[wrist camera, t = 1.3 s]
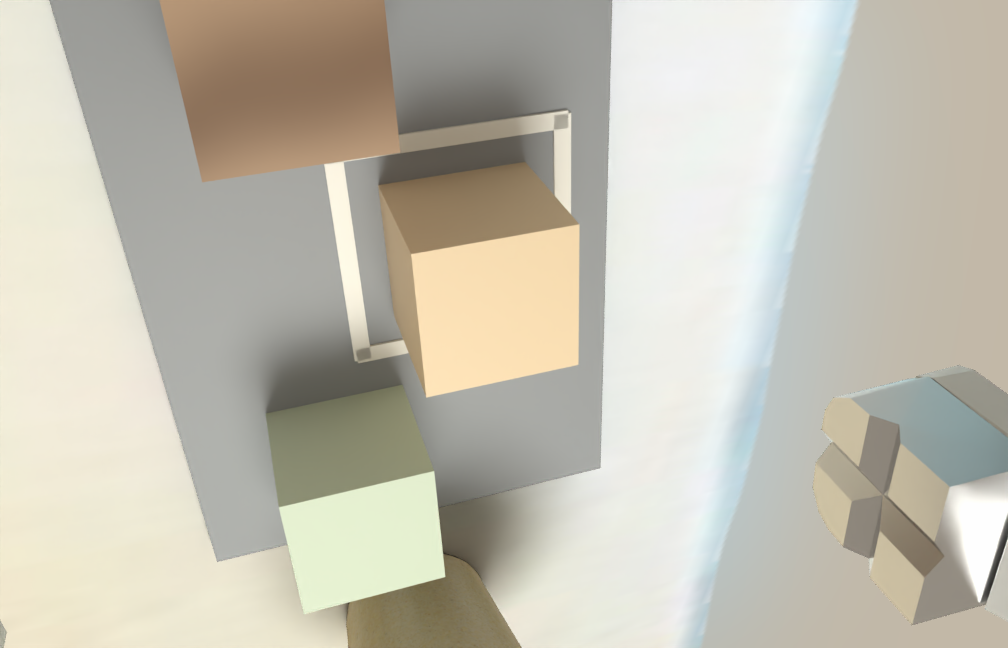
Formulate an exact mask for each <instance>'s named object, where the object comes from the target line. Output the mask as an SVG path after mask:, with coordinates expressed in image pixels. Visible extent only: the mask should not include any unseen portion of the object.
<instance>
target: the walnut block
mask: <svg viewBox="0 0 1008 648" xmlns="http://www.w3.org/2000/svg"><path fill="white" fill-rule="evenodd" d="M159 1H160V5H161V9H162V13H163V18H164V22H165V26H166V30H167V35H168V39H169V43H170V47H171V52H172V56H173V60H174V64H175V69H176V73H177V77H178V81H179V86H180V90H181V94H182V98H183V103H184V107H185V111H186V115H187V120H188V124H189V128H190V132H191V137H192V141H193V145H194V149H195V154H196V158H197V162H198V166H199V171H200V175H201V179H202V182H208V181H215V180H221V179H228V178H235V177H241V176H248V175H255V174H261V173H268V172H274V171H281V170H288V169H294V168H301V167H308V166H314V165H321V164H327V163H334V162H341V161H347V160H354V159H361V158H367V157H374V156H381V155H387V154H394V153H400V144H399V134H398V125H397V115H396V106H395V97H394V87H393V78H392V68H391V59H390V49H389V40H388V31H387V21H386V12H385V2H384V0H159Z"/></svg>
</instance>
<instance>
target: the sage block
mask: <svg viewBox="0 0 1008 648" xmlns="http://www.w3.org/2000/svg"><path fill="white" fill-rule="evenodd" d="M266 421H267V428H268V435H269V442H270V449H271V456H272V463H273V470H274V477H275V484H276V491H277V498H278V505H279V510H280V515H281V519H282V523H283V527H284V532H285V536H286V540H287V544H288V549H289V553H290V557H291V561H292V566H293V570H294V574H295V578H296V583H297V587H298V591H299V595H300V599H301V604H302V608H303V612H304V614H307V613H310V612H314V611H318V610H322V609H326V608H329V607H333V606H337V605H341V604H345V603H348V602H352V601H356V600H360V599H364V598H367V597H371V596H375V595H379V594H383V593H386V592H390V591H394V590H398V589H402V588H405V587H409V586H413V585H417V584H421V583H424V582H428V581H432V580H436V579H440V578H443V577H445V568H444V559H443V549H442V540H441V531H440V521H439V512H438V502H437V493H436V483H435V474H434V469H433V466H432V464H431V461H430V458H429V455H428V453H427V450H426V447H425V445H424V442H423V439H422V436H421V434H420V431H419V428H418V426H417V423H416V420H415V417H414V415H413V412H412V409H411V406H410V404H409V401H408V398H407V396H406V393H405V390H404V387H403V385H399V386H394V387H390V388H385V389H380V390H375V391H371V392H366V393H361V394H356V395H352V396H347V397H342V398H337V399H333V400H328V401H323V402H318V403H314V404H309V405H304V406H299V407H295V408H290V409H285V410H280V411H276V412H271V413H266Z"/></svg>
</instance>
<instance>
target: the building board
mask: <svg viewBox="0 0 1008 648" xmlns="http://www.w3.org/2000/svg"><path fill="white" fill-rule="evenodd" d="M49 1H50V4H51V7H52V11H53V14H54V17H55V21H56V24H57V27H58V31H59V34H60V37H61V41H62V44H63V47H64V51H65V54H66V58H67V61H68V64H69V68H70V71H71V74H72V78H73V81H74V84H75V88H76V91H77V94H78V98H79V101H80V104H81V108H82V111H83V114H84V118H85V121H86V124H87V128H88V131H89V134H90V138H91V141H92V145H93V148H94V151H95V155H96V158H97V161H98V165H99V168H100V171H101V175H102V178H103V181H104V185H105V188H106V191H107V195H108V198H109V201H110V205H111V208H112V211H113V215H114V218H115V222H116V225H117V228H118V232H119V235H120V238H121V242H122V245H123V248H124V252H125V255H126V258H127V262H128V265H129V268H130V272H131V275H132V278H133V282H134V285H135V288H136V292H137V295H138V298H139V302H140V305H141V309H142V312H143V315H144V319H145V322H146V325H147V329H148V332H149V335H150V339H151V342H152V345H153V349H154V352H155V355H156V359H157V362H158V365H159V369H160V372H161V375H162V379H163V382H164V385H165V389H166V392H167V396H168V399H169V402H170V406H171V409H172V412H173V416H174V419H175V422H176V426H177V429H178V432H179V436H180V439H181V442H182V446H183V449H184V452H185V456H186V459H187V462H188V466H189V469H190V473H191V476H192V479H193V483H194V486H195V489H196V493H197V496H198V499H199V503H200V506H201V509H202V513H203V516H204V519H205V523H206V526H207V529H208V533H209V536H210V539H211V543H212V546H213V549H214V553H215V556H216V560H217V562H219V561H223V560H227V559H231V558H235V557H239V556H243V555H247V554H251V553H256V552H260V551H264V550H268V549H272V548H276V547H280V546H284V545H288V544H287V540H286V536H285V532H284V527H283V523H282V519H281V515H280V510H279V505H278V498H277V491H276V484H275V477H274V470H273V463H272V456H271V449H270V442H269V435H268V428H267V421H266V413H271V412H276V411H280V410H285V409H290V408H295V407H299V406H304V405H309V404H314V403H318V402H323V401H328V400H333V399H337V398H342V397H347V396H352V395H356V394H361V393H366V392H371V391H375V390H380V389H385V388H390V387H394V386H399V385H403V387H404V390H405V393H406V396H407V398H408V401H409V404H410V406H411V409H412V412H413V415H414V417H415V420H416V423H417V426H418V428H419V431H420V434H421V436H422V439H423V442H424V445H425V447H426V450H427V453H428V455H429V458H430V461H431V464H432V466H433V469H434V474H435V483H436V493H437V502H438V508H439V507H444V506H448V505H452V504H456V503H460V502H464V501H468V500H472V499H476V498H480V497H484V496H489V495H493V494H497V493H501V492H505V491H509V490H513V489H517V488H521V487H525V486H529V485H533V484H538V483H542V482H546V481H550V480H554V479H558V478H562V477H566V476H570V475H574V474H578V473H583V472H587V471H591V470H595V469H599V468H600V462H601V422H602V382H603V342H604V303H605V263H606V223H607V183H608V143H609V104H610V64H611V24H612V0H384V2H385V12H386V21H387V31H388V40H389V49H390V59H391V68H392V78H393V87H394V97H395V106H396V115H397V125H398V134H399V144H400V153H394V154H387V155H381V156H374V157H367V158H361V159H354V160H347V161H341V162H334V163H327V164H321V165H314V166H308V167H301V168H294V169H288V170H281V171H274V172H268V173H261V174H255V175H248V176H241V177H235V178H228V179H221V180H215V181H208V182H202V179H201V175H200V171H199V166H198V162H197V158H196V154H195V149H194V145H193V141H192V137H191V132H190V128H189V124H188V120H187V115H186V111H185V107H184V103H183V98H182V94H181V90H180V86H179V81H178V77H177V73H176V69H175V64H174V60H173V56H172V52H171V47H170V43H169V39H168V35H167V30H166V26H165V22H164V18H163V13H162V9H161V5H160V1H159V0H49Z"/></svg>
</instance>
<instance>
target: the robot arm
mask: <svg viewBox="0 0 1008 648" xmlns="http://www.w3.org/2000/svg"><path fill="white" fill-rule="evenodd" d="M821 430H822V431H823V432H824V434H825V435H826V436H827V437H828V439H829V440H830V442H831V443H830V445H829V446H828V447H827V449H826V450H825V451H824V452H823V454H822V455H821V456H820V458H819V459H818V460H817V462H816V464H815V472H814V481H813V490H814V494H815V498H816V503H817V507H818V511H819V513H820V515H821V517H822V519H823V521H824V523H825V524H826V526H827V528H828V530H829V531H830V532H831V533H832V535H833V536H834V537H835V538H836V539H837V540H838V542H839V543H840V544H841V545H842V546H843V547H844V548H847V549H849V550H851V551H853V552H856V553H858V554H860V555H863V556H865V557H867V558H869V574H870V578H871V580H872V581H873V582H874V583H875V584H876V585H877V586H878V588H879V589H880V590H881V591H882V592H883V593H884V594H885V595H886V596H887V598H888V599H889V600H890V601H891V602H892V603H893V604H894V605H895V607H896V608H897V609H898V610H899V611H900V612H901V613H902V614H903V616H904V617H905V618H906V619H907V620H908V621H909V622H910V623H911V625H915V624H918V623H922V622H925V621H929V620H932V619H936V618H939V617H943V616H947V615H950V614H954V613H957V612H960V611H965V610H968V609H971V608H975V607H978V606H982V605H986V606H985V610H987V611H989V612H991V613H993V614H994V615H996V616H998V617H1000V618H1002V619H1004V620H1006V621H1007V622H1008V394H1007V393H1006V392H1004V391H1003V390H1001V389H1000V388H999V387H997V386H996V385H995V384H993V383H992V382H990V381H989V380H988V379H986V378H985V377H983V376H982V375H981V374H979V373H978V372H976V371H975V370H973V369H969V368H966V367H962V366H959V365H957V366H954V367H950V368H946V369H942V370H939V371H934V372H931V373H927V374H923V375H919V376H917V377H915V378H911V379H906V380H902V381H898V382H894V383H890V384H886V385H882V386H878V387H874V388H870V389H866V390H862V391H858V392H854V393H850V394H846V395H842V396H838V397H834V398H833V399H832V400H831V402H830V403H829V405H828V406H827V408H826V409H825V413H824V418H823V423H822V429H821ZM6 633H7V632H6V630H5V628H4V627H3V625H2V623H1V621H0V648H4V643H5V638H6Z"/></svg>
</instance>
